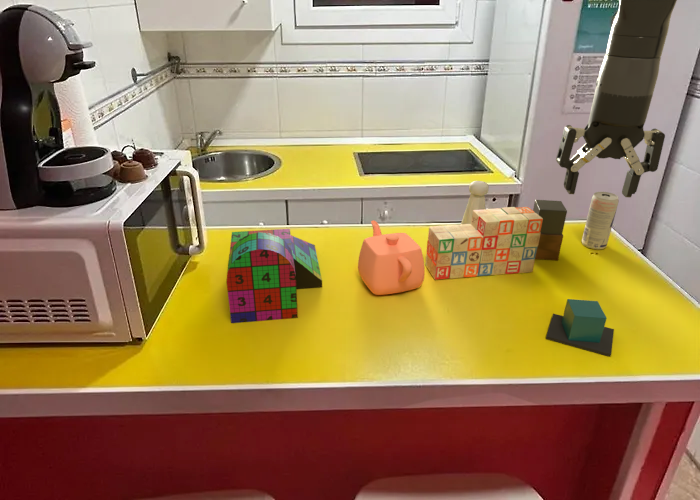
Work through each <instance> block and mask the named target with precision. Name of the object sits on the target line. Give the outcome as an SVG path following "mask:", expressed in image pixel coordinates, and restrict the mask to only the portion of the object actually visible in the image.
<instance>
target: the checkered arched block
mask: <svg viewBox="0 0 700 500" xmlns="http://www.w3.org/2000/svg"><path fill="white" fill-rule="evenodd" d="M230 236H231V238H230V246H229V253H228V262H227V271H226V289H227V298H228V305H229V313H230V322H231V324H237V323H238V324H239V323H248V322H263V321H274V320H286V319H288V320H289V319H298V316H299V315H298V295H297V290H302V289H303V290H304V289H305V290H306V289H317V288H323V279H322V274H321V268H320V265H319V260H318V255H317V249H316V245H315V244H313V243H310V242H308V241H306V240H303V239H301V238H298V237H297V236H295V235H292V234H291V228H278V229H277V228H276V229H275V228H274V229H260V230H258V229H257V230H244V231H243V230H241V231H231V235H230Z"/></svg>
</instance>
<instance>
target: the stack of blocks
mask: <svg viewBox="0 0 700 500" xmlns="http://www.w3.org/2000/svg"><path fill="white" fill-rule="evenodd" d="M542 221H543V218H541V217H540V216H539V215H538V214H537V213H535V212H534V211H533V209H531V208H530V207H529V206H521V207H515V206H507V207H497V208H487V209H486V208H485V209H483V210H473V212H472V219H471V224H461V223H460V224H448V225H447V224H446V225H434V226H429V227H428V233H427V234H428V235H427V241H426V255H425V267H426V268H427V270H428V272H429V273H430V275H431V276H432V278H433V279H434V280H445V279H446V280H447V279H462V278H475V277H484V276H485V277H486V276H497V275H511V274H513V275H514V274H526V273H533V271H534V266H535V261H536V259H535V256H536V251H537V247H538V243H539V239H540V234H541V233H540V231H541V226H542Z"/></svg>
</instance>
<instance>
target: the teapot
mask: <svg viewBox="0 0 700 500" xmlns="http://www.w3.org/2000/svg"><path fill="white" fill-rule="evenodd" d="M370 223H371V227H372V236H368V237H366V238H364V239H363V241H362V244H361V247H360V250H359V256H358V262H357V270H358V274H359V276H360V278H361V280H362V282H363V283H364V285H365V286H366V287H367V289H368V290H369V291H370V292H371V293H372V294H373V295H378V296H379V295H380V296H381V295H390V294H399V293H404V292H407V291H411V290H415V289H417V288H420V287H421V286H422V285H423V283H424V280H425V275H426V274H425V270H426V269H425V262H424V255H423V251H422V247H421V246H420V244H419V243H417V242H416V241H415V240H414V239H413V238H412V237H411V236H410V235H409V234H408V233H406V232H392V233H384V234H383V233H382V230H381V227H380V225H379V222H377V221H376V220H374V219H373V220H371V221H370Z"/></svg>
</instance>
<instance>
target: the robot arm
mask: <svg viewBox="0 0 700 500" xmlns="http://www.w3.org/2000/svg"><path fill="white" fill-rule="evenodd" d="M677 2H678V0H619V3H618V8H617V9H618V10H617V11H616V14H615V16H614V18H613V21H612V25H611V28H610V32H609V36H608V41H607V45H606V48H605V49H606V50H605V53H604V57H603V61H602V63H601V65H600V68H599V72H598V76H597V78H596V81H595V89H594V94H593V97H592V103H591V108H590V112H589V116H588V121H587V124H586V126H585V127H584V128H582V127H573V126H572V125H570V124H567V125H565V126H564V128H563V131H562V136H561V138H560V143H559V147H558V151H557V153H556V157H555V161H556V163H557V164H558V165H559V167H561V168H564V169H566V171H565V175H564V180H563V187H564V189H565V191H566V192H567V194H568V195H575V192H576V188H577V184H578V180H579V175H580V170H581V169H582V168H583V167H584V166H585V165H586V164H589V163H590V162H591V161H592V160H593V159H595V158H596V157H597V158H598V159H609V158H611V159H614V160H621V158H623V159H624V160H625V162H626V163H627V165H628V167H629V170H626V171H627V172H626V175H625V178H624V182H623V185H622V190H621V194H622V196H623V197H625V198H632V196H633V195H635V194H636V193H637V191H638V188H639V184H640V180H641V177H642V175H644V174H645V173H648V172H652V173H653V172H656V171H658V169H659V165H660V164H659V163H660V160H661V155H662V152H663V147H664V143H665V140H666V139H665V138H666V133H664V132H663V131H661V130H660V129H658V128H651V130H644V125H645V124H646V121H647V118H648V113H649V110H650V106H651V102H652V99H653V97H654V96H653V95H654V92H655V89H656V84H657V81H658V77H659V72H660V65H661V59H662V54H663V52H664V47H665V45H666V40H667V36H668V32H669V28H670V22H671V17H672V14H673V10H675V9H674V8H675V7H676V4H677ZM581 137H583V139H584V141H585V143H584V144H583V145H582V146H581V147H580V148H579V149H578V150H577V151H576V153H575V154H574V155H573V156H572V157H571V154H572V152H573V151H572V150H573V147H574V143H577V142H579V140H580V138H581ZM642 141H644V143H645V145H646V148H645V153H644V156H643V157H644V158H643V161H640V158H639V156H638V154H637V152H636V150H635V148H636V147H637V146H638V145H639V144H640V143H641V142H642Z"/></svg>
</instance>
